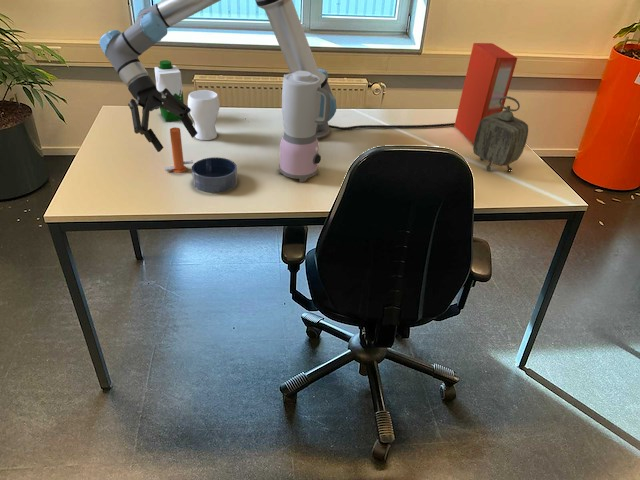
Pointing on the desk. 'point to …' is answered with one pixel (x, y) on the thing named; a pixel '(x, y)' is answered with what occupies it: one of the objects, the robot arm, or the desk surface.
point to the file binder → (484, 86)
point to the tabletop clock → (501, 137)
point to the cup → (204, 113)
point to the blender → (301, 124)
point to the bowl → (214, 175)
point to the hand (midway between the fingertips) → (178, 142)
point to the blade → (177, 152)
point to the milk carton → (169, 85)
